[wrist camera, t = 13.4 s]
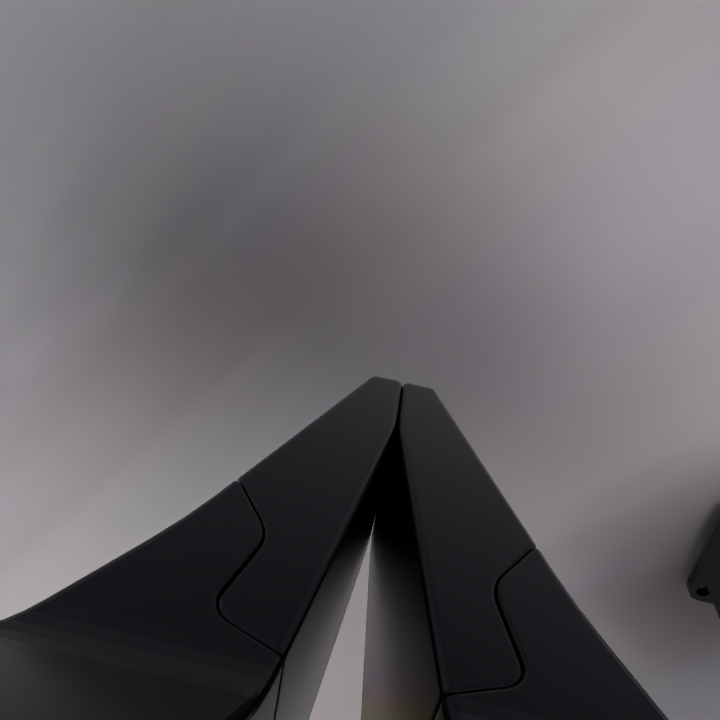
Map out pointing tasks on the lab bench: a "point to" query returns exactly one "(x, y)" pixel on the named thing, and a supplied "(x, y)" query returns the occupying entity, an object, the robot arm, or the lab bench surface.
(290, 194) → the lab bench surface
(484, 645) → the robot arm
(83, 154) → the lab bench surface
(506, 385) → the lab bench surface
